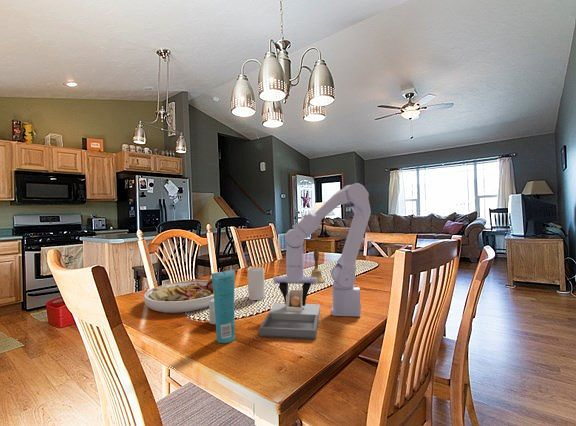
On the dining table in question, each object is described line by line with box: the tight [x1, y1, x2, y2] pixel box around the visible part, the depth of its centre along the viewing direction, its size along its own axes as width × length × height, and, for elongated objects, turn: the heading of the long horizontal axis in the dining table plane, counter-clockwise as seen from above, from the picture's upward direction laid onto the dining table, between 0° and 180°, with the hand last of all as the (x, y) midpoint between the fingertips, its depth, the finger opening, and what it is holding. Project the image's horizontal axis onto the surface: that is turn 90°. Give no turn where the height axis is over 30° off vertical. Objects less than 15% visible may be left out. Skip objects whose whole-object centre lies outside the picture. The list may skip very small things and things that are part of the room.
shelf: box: [268, 302, 321, 323], centre depth 102 cm, size 16×10×2 cm, turn 81°
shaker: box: [286, 289, 304, 311], centre depth 102 cm, size 5×7×5 cm
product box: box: [208, 299, 235, 325], centre depth 98 cm, size 6×6×7 cm
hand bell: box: [310, 247, 326, 284], centre depth 147 cm, size 8×8×16 cm
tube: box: [210, 269, 236, 344], centre depth 84 cm, size 7×5×19 cm, turn 140°
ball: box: [291, 296, 301, 307], centre depth 103 cm, size 3×3×3 cm
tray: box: [258, 312, 319, 340], centre depth 91 cm, size 16×12×2 cm
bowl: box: [143, 277, 214, 314], centre depth 120 cm, size 30×30×8 cm
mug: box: [247, 266, 265, 301], centre depth 123 cm, size 10×7×12 cm, turn 21°
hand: (295, 304), depth 103 cm, fingers closed on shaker, 5 cm apart
